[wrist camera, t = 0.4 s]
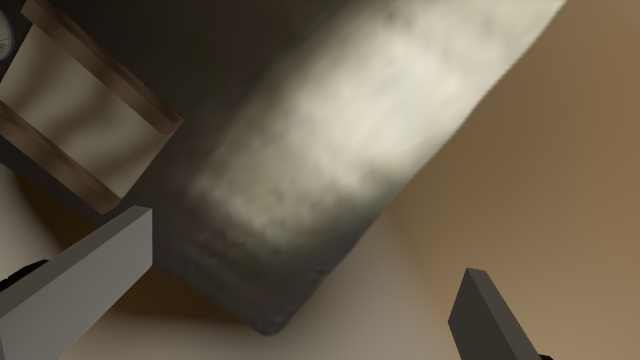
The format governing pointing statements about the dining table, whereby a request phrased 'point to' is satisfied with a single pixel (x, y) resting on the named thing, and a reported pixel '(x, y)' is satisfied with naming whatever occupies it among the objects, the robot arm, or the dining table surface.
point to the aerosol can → (6, 36)
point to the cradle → (80, 110)
